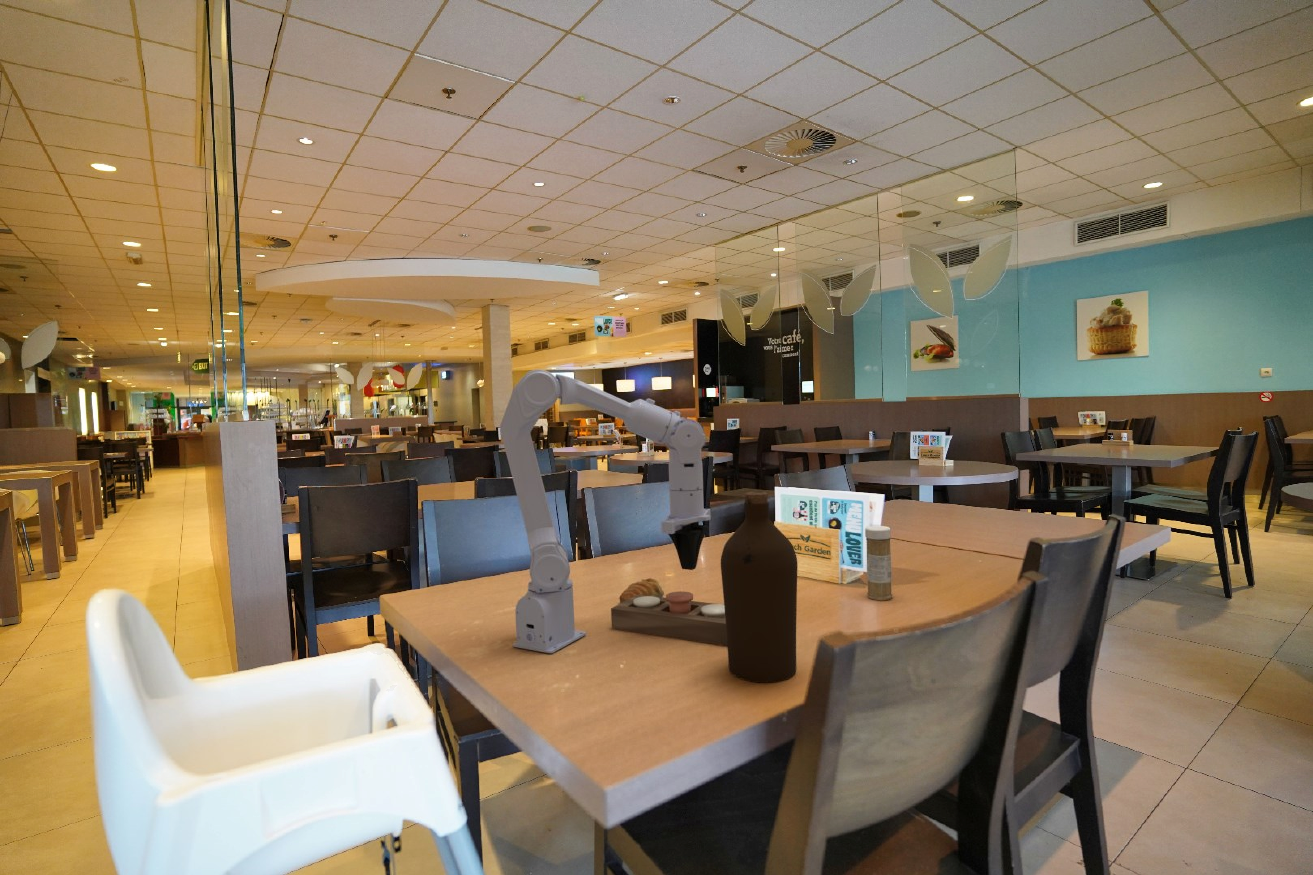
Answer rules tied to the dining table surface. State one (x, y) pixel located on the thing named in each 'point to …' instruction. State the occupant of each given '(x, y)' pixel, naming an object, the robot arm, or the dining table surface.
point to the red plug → (679, 602)
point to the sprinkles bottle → (878, 562)
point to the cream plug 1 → (646, 602)
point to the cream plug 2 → (713, 611)
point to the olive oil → (760, 597)
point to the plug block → (669, 622)
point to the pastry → (642, 589)
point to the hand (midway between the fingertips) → (688, 568)
